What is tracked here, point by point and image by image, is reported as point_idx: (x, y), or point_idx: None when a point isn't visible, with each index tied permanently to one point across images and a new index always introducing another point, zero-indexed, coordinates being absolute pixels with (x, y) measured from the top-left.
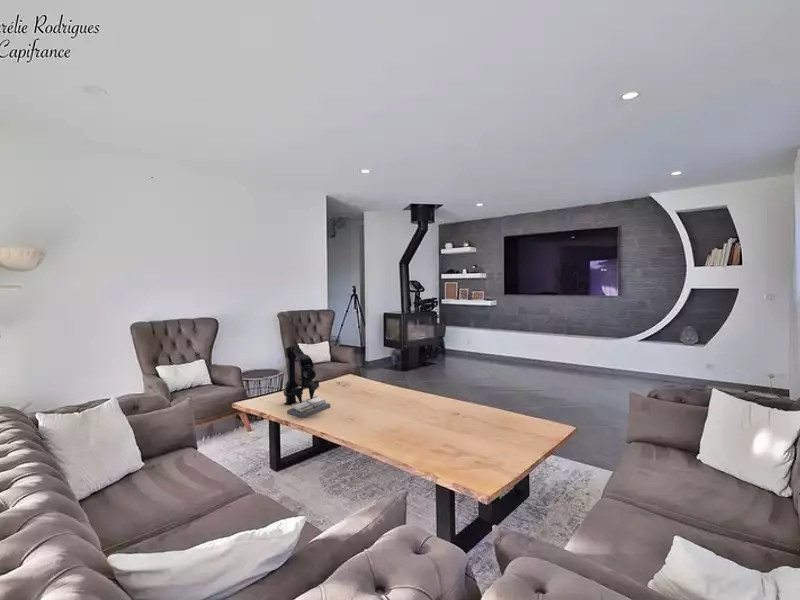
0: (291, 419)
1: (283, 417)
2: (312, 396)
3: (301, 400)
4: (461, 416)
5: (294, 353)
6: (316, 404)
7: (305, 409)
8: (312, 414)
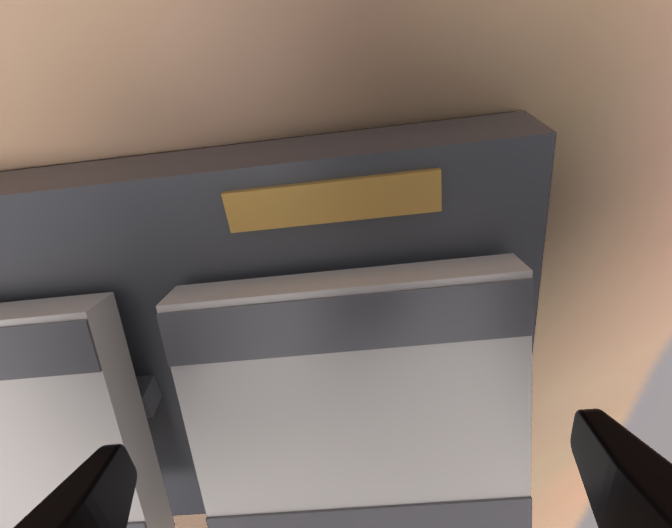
0: (661, 245)
1: (622, 393)
2: (52, 514)
3: (650, 470)
4: None
5: None
6: (50, 313)
7: (396, 272)
8: (288, 138)
